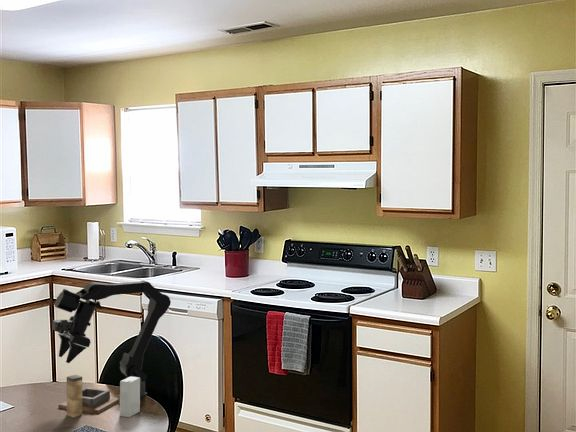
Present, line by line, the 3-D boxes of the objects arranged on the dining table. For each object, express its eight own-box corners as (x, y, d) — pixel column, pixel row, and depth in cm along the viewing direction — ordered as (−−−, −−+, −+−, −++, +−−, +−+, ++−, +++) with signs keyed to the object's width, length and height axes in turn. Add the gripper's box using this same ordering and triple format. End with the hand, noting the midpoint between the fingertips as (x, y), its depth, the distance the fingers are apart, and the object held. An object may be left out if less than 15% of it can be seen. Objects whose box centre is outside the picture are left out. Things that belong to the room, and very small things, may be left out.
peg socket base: (119, 401, 233) (119, 390, 233) (98, 413, 221) (98, 401, 220) (81, 396, 238) (81, 385, 238) (58, 408, 226) (58, 396, 225)
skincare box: (129, 410, 225) (129, 375, 224) (140, 412, 223) (140, 377, 222) (118, 416, 219) (118, 380, 218) (130, 418, 217) (130, 382, 217)
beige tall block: (75, 412, 222) (75, 374, 221) (82, 414, 220) (82, 376, 219) (66, 415, 219) (66, 376, 218) (73, 417, 217) (72, 379, 216)
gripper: (53, 305, 231) (34, 347, 228) (68, 313, 216) (48, 359, 213) (82, 315, 237) (64, 356, 234) (99, 324, 221) (79, 368, 218)
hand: (63, 359), depth 224 cm, fingers open, 9 cm apart
